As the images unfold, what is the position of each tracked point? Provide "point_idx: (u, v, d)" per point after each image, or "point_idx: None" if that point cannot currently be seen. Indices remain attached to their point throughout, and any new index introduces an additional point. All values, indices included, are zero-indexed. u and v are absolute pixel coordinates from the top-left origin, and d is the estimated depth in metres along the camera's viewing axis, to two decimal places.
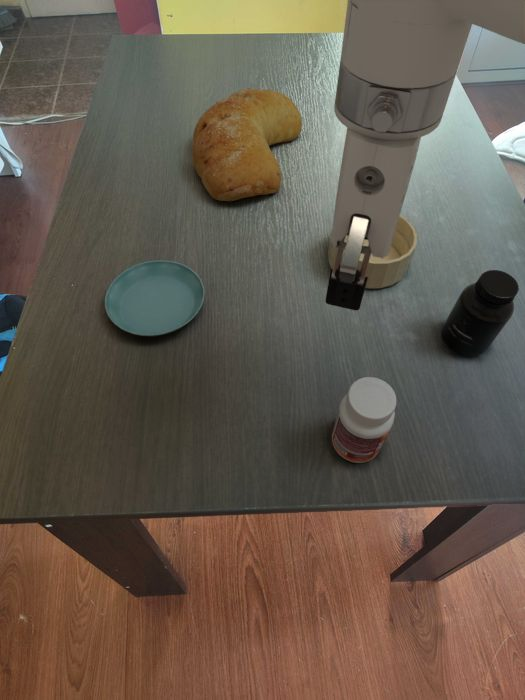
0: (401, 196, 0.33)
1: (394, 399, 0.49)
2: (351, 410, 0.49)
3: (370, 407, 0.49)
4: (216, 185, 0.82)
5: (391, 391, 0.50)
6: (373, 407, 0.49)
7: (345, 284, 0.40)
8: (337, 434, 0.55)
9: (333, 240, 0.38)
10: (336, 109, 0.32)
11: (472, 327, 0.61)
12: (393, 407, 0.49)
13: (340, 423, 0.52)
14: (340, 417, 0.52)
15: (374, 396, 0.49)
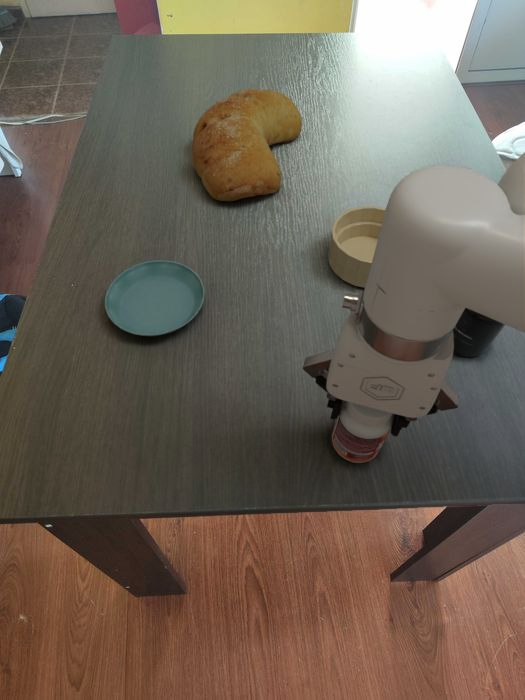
0: (337, 360, 0.42)
1: None
2: (351, 410, 0.49)
3: None
4: (216, 185, 0.82)
5: None
6: None
7: None
8: (337, 434, 0.55)
9: None
10: None
11: (472, 327, 0.61)
12: None
13: (340, 423, 0.52)
14: (340, 417, 0.52)
15: None
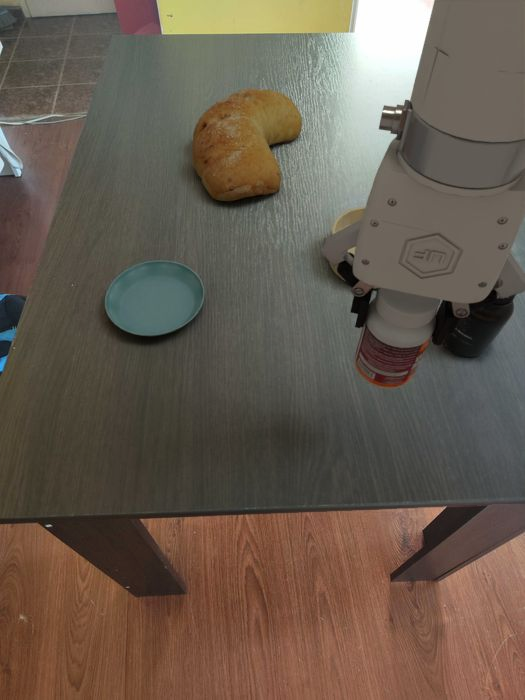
0: (370, 216, 0.31)
1: None
2: (383, 308, 0.39)
3: (408, 302, 0.38)
4: (216, 184, 0.82)
5: None
6: (411, 303, 0.38)
7: None
8: (363, 351, 0.44)
9: None
10: None
11: (472, 327, 0.61)
12: (437, 302, 0.38)
13: (367, 332, 0.42)
14: (367, 324, 0.41)
15: None
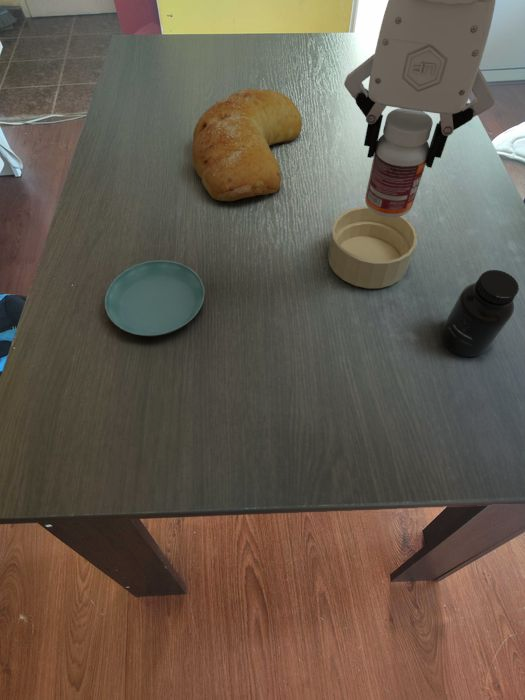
0: (382, 36, 0.44)
1: (430, 120, 0.52)
2: (389, 132, 0.52)
3: (408, 125, 0.51)
4: (216, 185, 0.82)
5: (427, 116, 0.52)
6: (410, 126, 0.51)
7: None
8: (372, 181, 0.57)
9: None
10: None
11: (472, 327, 0.61)
12: (430, 125, 0.51)
13: (377, 160, 0.55)
14: (377, 152, 0.54)
15: (411, 119, 0.52)
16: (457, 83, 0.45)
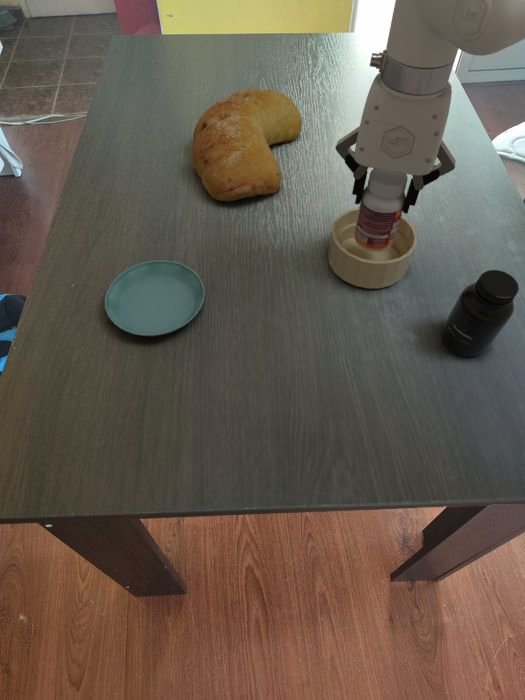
0: (365, 117, 0.56)
1: (406, 177, 0.63)
2: (372, 185, 0.63)
3: (387, 181, 0.63)
4: (216, 185, 0.82)
5: None
6: (389, 181, 0.63)
7: None
8: (359, 222, 0.69)
9: None
10: None
11: (472, 327, 0.61)
12: (405, 181, 0.63)
13: (362, 207, 0.67)
14: (363, 200, 0.66)
15: (390, 175, 0.63)
16: (424, 154, 0.57)
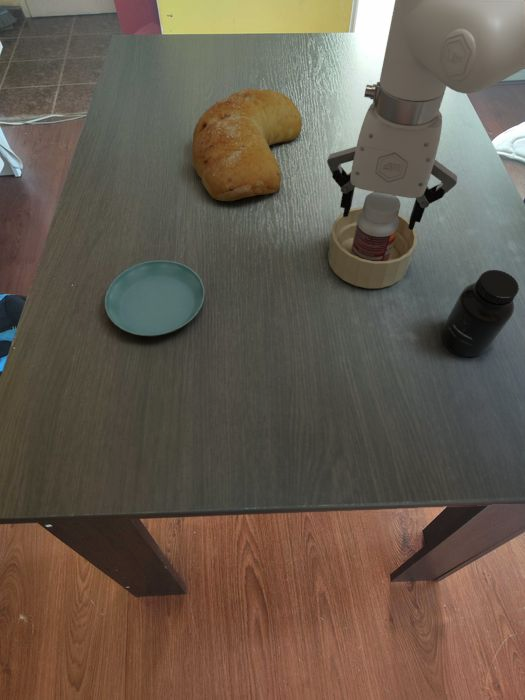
0: (360, 144, 0.59)
1: (398, 203, 0.67)
2: (367, 211, 0.67)
3: (381, 207, 0.66)
4: (216, 184, 0.82)
5: (396, 198, 0.67)
6: (383, 207, 0.66)
7: None
8: (355, 244, 0.72)
9: None
10: None
11: (472, 327, 0.61)
12: (398, 207, 0.66)
13: (358, 230, 0.70)
14: (358, 224, 0.69)
15: (384, 201, 0.67)
16: (416, 178, 0.60)
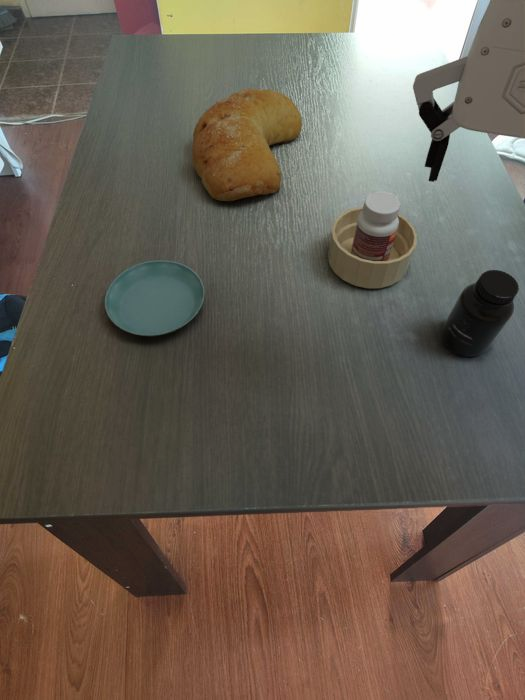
0: (482, 43, 0.34)
1: (398, 203, 0.67)
2: (367, 211, 0.67)
3: (381, 207, 0.66)
4: (216, 184, 0.82)
5: (396, 198, 0.67)
6: (383, 207, 0.66)
7: None
8: (355, 244, 0.72)
9: None
10: None
11: (472, 327, 0.61)
12: (398, 207, 0.66)
13: (358, 230, 0.70)
14: (358, 224, 0.69)
15: (384, 201, 0.67)
16: None
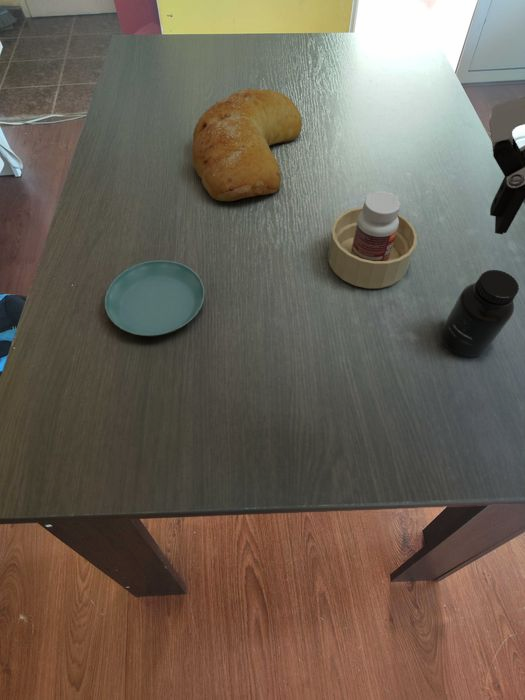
0: None
1: (398, 203, 0.67)
2: (367, 211, 0.67)
3: (381, 207, 0.66)
4: (216, 185, 0.82)
5: (396, 198, 0.67)
6: (383, 207, 0.66)
7: (506, 178, 0.34)
8: (355, 244, 0.72)
9: None
10: None
11: (472, 327, 0.61)
12: (398, 207, 0.66)
13: (358, 230, 0.70)
14: (358, 224, 0.69)
15: (384, 201, 0.67)
16: None
